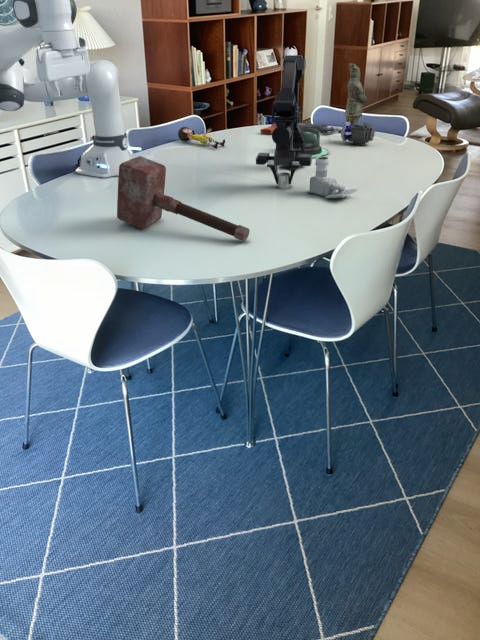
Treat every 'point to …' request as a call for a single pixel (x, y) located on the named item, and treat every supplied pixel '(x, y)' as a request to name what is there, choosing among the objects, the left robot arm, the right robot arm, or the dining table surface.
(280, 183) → the can
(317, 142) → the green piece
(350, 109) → the statue
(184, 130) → the figurine
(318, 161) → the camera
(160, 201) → the sledgehammer
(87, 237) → the dining table surface
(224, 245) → the dining table surface
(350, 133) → the toy
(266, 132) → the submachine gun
